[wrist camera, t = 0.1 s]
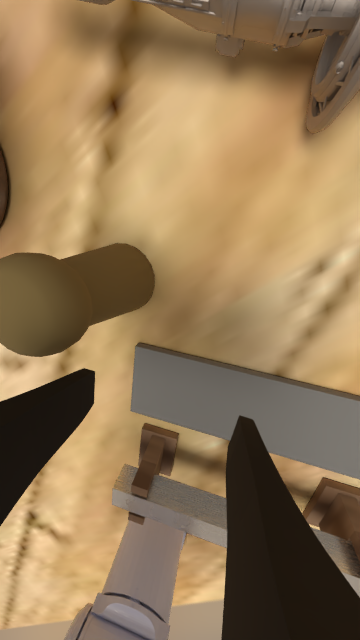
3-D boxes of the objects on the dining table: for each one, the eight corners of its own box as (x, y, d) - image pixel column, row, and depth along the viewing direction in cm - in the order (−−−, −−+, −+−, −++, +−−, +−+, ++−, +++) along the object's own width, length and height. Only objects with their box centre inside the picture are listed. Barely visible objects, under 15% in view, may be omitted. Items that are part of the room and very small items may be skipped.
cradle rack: (341, 526, 23) (377, 619, 17) (140, 459, 27) (116, 517, 21) (367, 491, 21) (417, 582, 15) (144, 423, 25) (118, 477, 19)
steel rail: (376, 569, 19) (395, 612, 17) (123, 479, 23) (111, 504, 21) (390, 554, 18) (411, 597, 16) (124, 463, 22) (112, 488, 20)
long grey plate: (394, 482, 20) (401, 491, 19) (133, 405, 24) (130, 410, 24) (445, 416, 17) (454, 424, 16) (138, 342, 21) (135, 346, 21)
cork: (85, 247, 19) (-75, 252, 9) (148, 238, 18) (40, 232, 8) (101, 312, 21) (-19, 374, 11) (159, 309, 20) (82, 378, 10)
